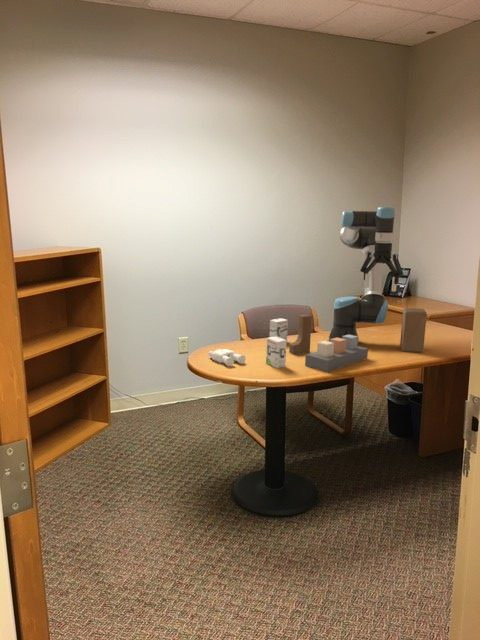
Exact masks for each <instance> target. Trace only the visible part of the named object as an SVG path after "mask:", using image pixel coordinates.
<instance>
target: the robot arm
mask: <svg viewBox="0 0 480 640" xmlns="http://www.w3.org/2000/svg"><path fill="white" fill-rule="evenodd" d="M395 217H396V214H395V207H393V206H379V207H377V210H367V211H366V210H343V211H342V215H341V227H343V228H342V229H341V230H340V232H339V239H340V241H341V243H342V244H343V245H345V246H346V247H348V248H350V249H353V250H354V249H355V250H361V253H362V254H363V255H364V262H363V264H362V266H361V268H360V270H359V272H362V273H363V281H364V295H362V296H361V297H360V299H359V298H358V297H357V296H352V295H351V296H350V295H349V296H348V295H347V296H340V297H338V298H335V300H334V305H333V321H332V328H331V330H330V333H329V336H328V342H330V339H333V338H342V336H345V335H354V336H358V343H357V345H358V344H359V340H360V339H359V335H358V331H357V324H358V323H359V324H360V323H362V324H376V325H377V324H384V323H385V321H386V319H387V313H388V310H389V309H388V308H389V301H388V300H386V299H385V296H384V295H383V294H382V292H383V291H382V288H383V287H382V277H383V275H382V271H383V270H382V268H383V267H382V264H386V265H387V267H388V268H389V270H390V271H391V273H392V275H393V276H392V282H391V292H393V293H394V292H396V291H397V285H398V284H399V281H400V279H399V278H400V277H402V276H404V271H403V268H402V266H401V264H400V261H399V254H398V253H394V254H392V251H393V250H392V249H393V240H394V239H393V237H394V223H395ZM391 259H392V260H391Z"/></svg>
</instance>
